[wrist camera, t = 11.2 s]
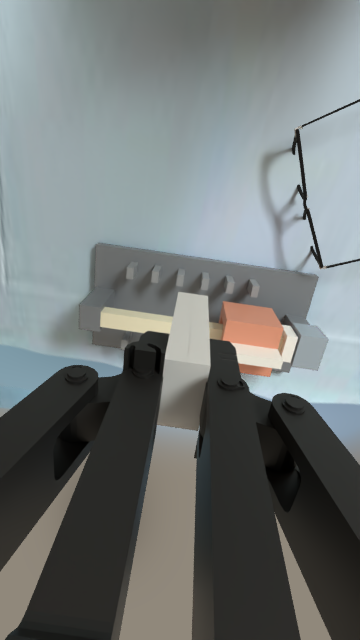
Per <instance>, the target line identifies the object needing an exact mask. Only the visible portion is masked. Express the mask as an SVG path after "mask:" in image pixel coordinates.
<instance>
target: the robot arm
mask: <svg viewBox="0 0 360 640" xmlns="http://www.w3.org/2000/svg"><path fill="white" fill-rule="evenodd" d="M199 423H200V430H199V435H198V440H197V445H196V451H195V455H194V458H197V467H196V505H195V543H194V580H193V617H192V618H193V619H192V640H301V639H300V634H299V630H298V625H297V621H296V615H295V610H294V605H293V600H292V596H291V591H290V586H289V581H288V576H287V571H286V566H285V562H284V557H283V552H282V547H281V542H280V538H279V533H278V528H277V523H276V518H275V514H276V517H277V519H278V521H279V523H280V526H281V528H282V530H283V532H284V534H285V537H286V539H287V541H288V543H289V546H290V548H291V550H292V552H293V554H294V557H295V559H296V561H297V563H298V566H299V568H300V570H301V572H302V575H303V577H304V579H305V581H306V583H307V586H308V588H309V590H310V592H311V595H312V597H313V599H314V601H315V603H316V606H317V608H318V610H319V612H320V614H321V617H322V619H323V621H324V623H325V626H326V628H327V630H328V632H329V635H330V637H331V639H332V640H360V465H359V464H358V463H357V461H356V460H355V459H354V457H353V456H352V455H351V454H350V452H349V451H348V450H347V449H346V447H345V446H344V445H343V444H342V443H341V441H340V440H339V439H338V437H337V436H336V435H335V434H334V432H333V431H332V430H331V429H330V427H329V426H328V425H327V424H326V422H325V421H324V420H323V419H322V417H321V416H320V415H319V414H318V412H317V411H316V410H315V409H314V407H313V406H312V405H311V404H310V403H309V402H308V401H306V400H304V399H303V398H301V397H299V396H297V395H293V394H287V393H281V394H277V395H275V396H274V397H273V399H272V402H271V401H268V400H265V399H263V398H260V397H258V396H255V395H254V394H252V393H250V392H249V387H248V385H247V383H246V382H245V381H244V380H243V379H241V375H240V369H239V364H238V359H237V353H236V348H235V347H234V346H233V345H232V343H231V342H230V341H223V340H216V339H210V337H209V310H208V296H205V295H198V294H190V293H183V292H178V296H177V301H176V306H175V311H174V315H173V320H172V325H171V330H170V334H168V333H161V332H154V331H147V332H145V333H144V334H142V335H141V337H140V339H139V341H137V342H132V343H130V344H128V345H127V346H126V347H125V351H124V366H123V372H122V373H121V374H119V375H116V376H112V377H101V378H98V373H97V372H96V371H95V369H93V368H91V367H88V366H83V365H73V366H68V367H65V368H63V369H61V370H59V371H58V372H56V373H55V374H54V375H53V376H51V377H50V378H49V379H48V380H46V381H45V382H44V383H43V384H42V385H40V386H39V387H38V388H36V389H35V390H34V391H33V392H31V393H30V394H29V395H28V396H27V397H25V398H24V399H23V400H22V401H20V402H19V403H18V404H17V405H15V406H14V407H13V408H12V409H10V410H9V411H8V412H7V413H5V414H4V415H3V416H2V417H0V571H1V570H2V568H3V567H4V566H5V564H6V563H7V562H8V560H9V559H10V558H11V556H12V555H13V554H14V552H15V551H16V550H17V548H18V547H19V546H20V544H21V543H22V542H23V540H24V539H25V538H26V536H27V535H28V534H29V532H30V531H31V530H32V528H33V527H34V525H35V524H36V523H37V522H38V520H39V519H40V518H41V516H42V515H43V514H44V512H45V511H46V510H47V508H48V507H49V506H50V504H51V503H52V502H53V500H54V499H55V498H56V496H57V495H58V494H59V492H60V491H61V490H62V488H63V487H64V486H65V484H66V483H67V482H68V480H69V479H70V478H71V476H72V475H73V474H74V472H75V471H76V470H77V468H78V467H79V466H80V464H81V463H82V462H83V460H84V459H85V458H86V456H87V455H88V454H89V452H90V454H89V456H88V459H87V461H86V464H85V466H84V469H83V471H82V474H81V476H80V478H79V481H78V483H77V486H76V488H75V491H74V493H73V496H72V498H71V501H70V503H69V506H68V508H67V511H66V514H65V516H64V518H63V521H62V523H61V526H60V528H59V531H58V533H57V536H56V538H55V541H54V543H53V546H52V548H51V551H50V553H49V556H48V558H47V561H46V563H45V566H44V568H43V571H42V573H41V576H40V578H39V580H38V583H37V585H36V588H35V590H34V593H33V595H32V598H31V600H30V603H29V606H28V608H27V610H26V612H25V615H24V617H23V619H22V621H21V623H20V624H19V626H18V627H17V628H16V629H15V630H14V631H12V632H11V633H10V634H9V635H8V636H7V638H6V639H5V640H119V635H120V630H121V624H122V619H123V613H124V608H125V602H126V597H127V591H128V585H129V580H130V574H131V569H132V563H133V557H134V552H135V546H136V541H137V535H138V530H139V524H140V518H141V513H142V507H143V502H144V495H145V491H146V485H147V479H148V474H149V468H150V463H151V456H152V451H153V445H154V439H155V434H156V426H157V425H161V426H169V427H175V428H182V429H189V430H196V431H198V428H199ZM274 512H275V513H274Z"/></svg>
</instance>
